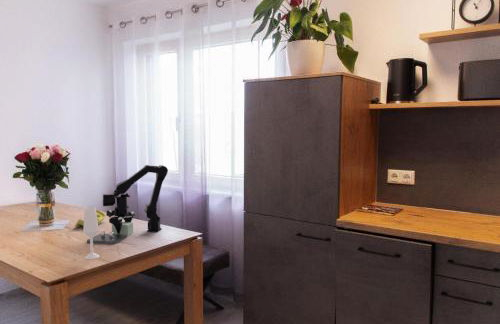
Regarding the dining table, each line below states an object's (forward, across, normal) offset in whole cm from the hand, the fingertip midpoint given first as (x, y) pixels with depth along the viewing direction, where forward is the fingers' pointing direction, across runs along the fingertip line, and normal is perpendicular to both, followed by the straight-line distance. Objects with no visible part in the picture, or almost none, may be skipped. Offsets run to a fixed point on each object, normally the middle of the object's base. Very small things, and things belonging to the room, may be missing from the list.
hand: (122, 231), depth 224 cm
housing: (+1, 0, 0) cm, 1 cm away
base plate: (+1, +13, -2) cm, 13 cm away
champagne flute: (+2, +39, +6) cm, 39 cm away
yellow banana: (+2, -15, -30) cm, 34 cm away
